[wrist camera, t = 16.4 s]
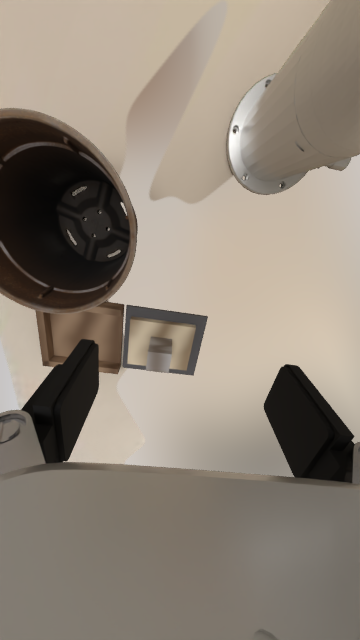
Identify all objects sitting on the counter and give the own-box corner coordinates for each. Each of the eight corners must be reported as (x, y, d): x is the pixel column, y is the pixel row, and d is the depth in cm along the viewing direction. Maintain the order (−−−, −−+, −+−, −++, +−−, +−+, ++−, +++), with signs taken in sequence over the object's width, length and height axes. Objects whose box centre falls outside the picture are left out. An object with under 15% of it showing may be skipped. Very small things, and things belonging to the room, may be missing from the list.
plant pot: (104, 129, 29) (33, 43, 14) (172, 239, 35) (170, 258, 20) (20, 204, 32) (-107, 197, 18) (95, 292, 38) (47, 339, 24)
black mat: (207, 316, 41) (207, 317, 40) (193, 374, 47) (193, 375, 47) (127, 304, 39) (126, 305, 39) (123, 366, 46) (122, 367, 45)
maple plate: (195, 324, 41) (198, 342, 36) (186, 366, 45) (187, 388, 40) (131, 316, 40) (124, 333, 34) (128, 360, 44) (121, 381, 39)
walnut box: (124, 304, 39) (121, 310, 37) (120, 365, 45) (117, 374, 43) (42, 292, 38) (33, 298, 36) (49, 357, 44) (43, 365, 42)
